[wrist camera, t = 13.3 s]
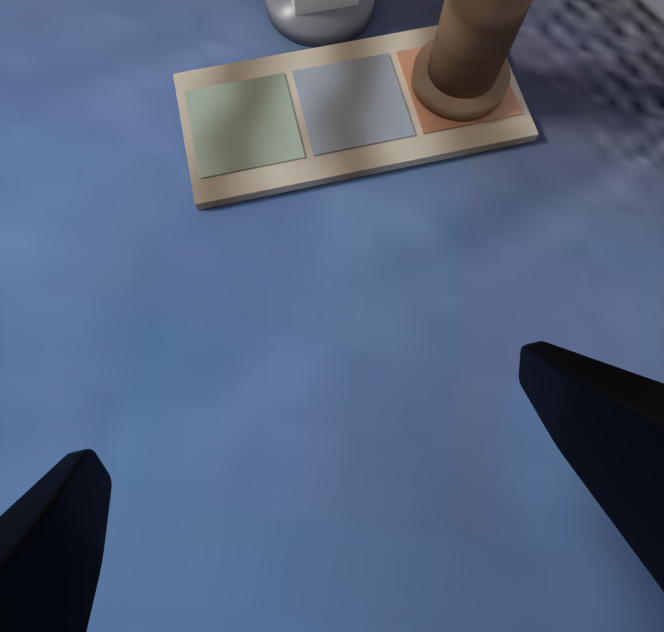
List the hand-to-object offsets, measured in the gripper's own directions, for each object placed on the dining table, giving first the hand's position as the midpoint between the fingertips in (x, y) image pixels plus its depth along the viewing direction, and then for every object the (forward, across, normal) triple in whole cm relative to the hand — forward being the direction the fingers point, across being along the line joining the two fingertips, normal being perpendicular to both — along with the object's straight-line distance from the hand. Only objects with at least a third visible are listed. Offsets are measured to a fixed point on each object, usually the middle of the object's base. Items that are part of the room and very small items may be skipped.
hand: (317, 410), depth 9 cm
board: (+21, -6, -3) cm, 22 cm away
